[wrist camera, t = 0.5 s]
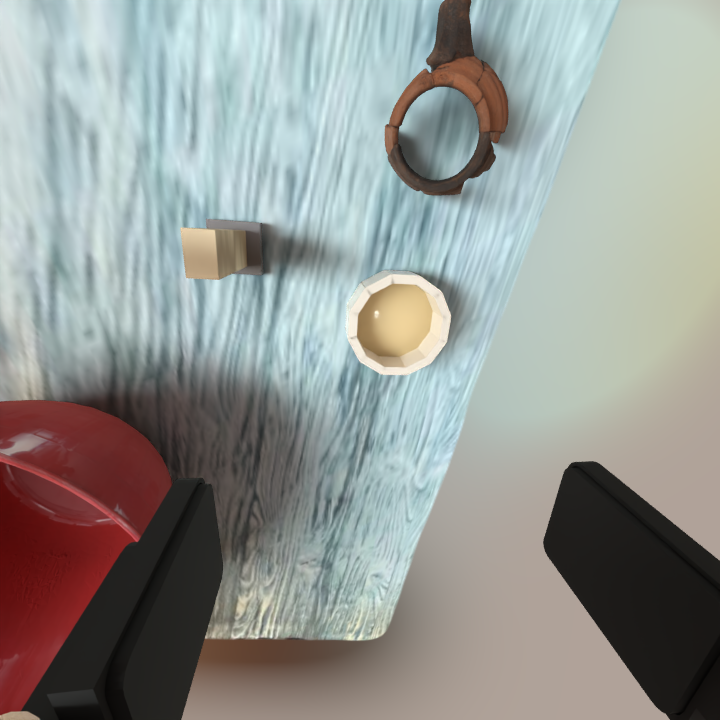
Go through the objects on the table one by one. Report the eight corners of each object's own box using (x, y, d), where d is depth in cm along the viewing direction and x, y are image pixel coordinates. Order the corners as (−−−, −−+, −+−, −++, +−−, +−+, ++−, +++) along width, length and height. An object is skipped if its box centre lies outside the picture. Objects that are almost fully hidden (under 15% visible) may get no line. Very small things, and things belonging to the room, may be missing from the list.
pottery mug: (503, 174, 31) (505, 194, 24) (403, 190, 34) (383, 211, 28) (512, -13, 24) (518, -50, 18) (385, 30, 27) (354, 12, 21)
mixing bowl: (258, 399, 36) (216, 510, 22) (189, 579, 44) (125, 746, 30) (-59, 296, 29) (-425, 359, 15) (-71, 531, 37) (-316, 718, 23)
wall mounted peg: (210, 219, 29) (157, 213, 20) (261, 223, 30) (234, 219, 20) (214, 270, 31) (167, 288, 21) (263, 273, 31) (238, 291, 22)
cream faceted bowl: (348, 267, 32) (351, 271, 29) (444, 273, 33) (457, 277, 30) (343, 360, 35) (345, 373, 32) (430, 363, 37) (441, 375, 33)
